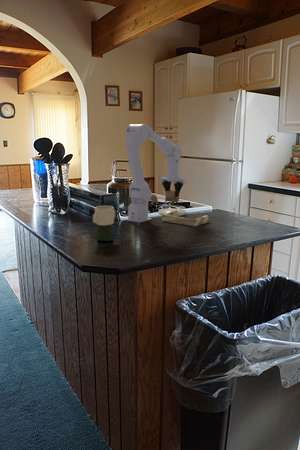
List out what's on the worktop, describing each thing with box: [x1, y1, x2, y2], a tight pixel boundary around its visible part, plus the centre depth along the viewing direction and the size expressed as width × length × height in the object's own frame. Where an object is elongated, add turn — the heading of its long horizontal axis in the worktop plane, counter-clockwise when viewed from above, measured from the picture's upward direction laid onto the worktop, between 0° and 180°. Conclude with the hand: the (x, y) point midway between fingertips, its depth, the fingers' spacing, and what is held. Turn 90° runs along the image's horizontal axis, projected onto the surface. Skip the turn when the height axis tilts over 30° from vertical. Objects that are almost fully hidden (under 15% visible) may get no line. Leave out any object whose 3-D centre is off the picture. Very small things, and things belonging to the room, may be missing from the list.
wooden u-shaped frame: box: [161, 211, 209, 227], centre depth 176 cm, size 12×18×3 cm, turn 52°
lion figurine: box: [149, 193, 160, 205], centre depth 212 cm, size 15×5×9 cm, turn 121°
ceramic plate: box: [158, 207, 187, 217], centre depth 194 cm, size 14×14×1 cm
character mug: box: [92, 205, 116, 242], centre depth 143 cm, size 11×7×13 cm, turn 139°
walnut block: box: [164, 189, 180, 203], centre depth 192 cm, size 5×5×5 cm
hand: (172, 196), depth 192 cm, fingers closed on walnut block, 5 cm apart
